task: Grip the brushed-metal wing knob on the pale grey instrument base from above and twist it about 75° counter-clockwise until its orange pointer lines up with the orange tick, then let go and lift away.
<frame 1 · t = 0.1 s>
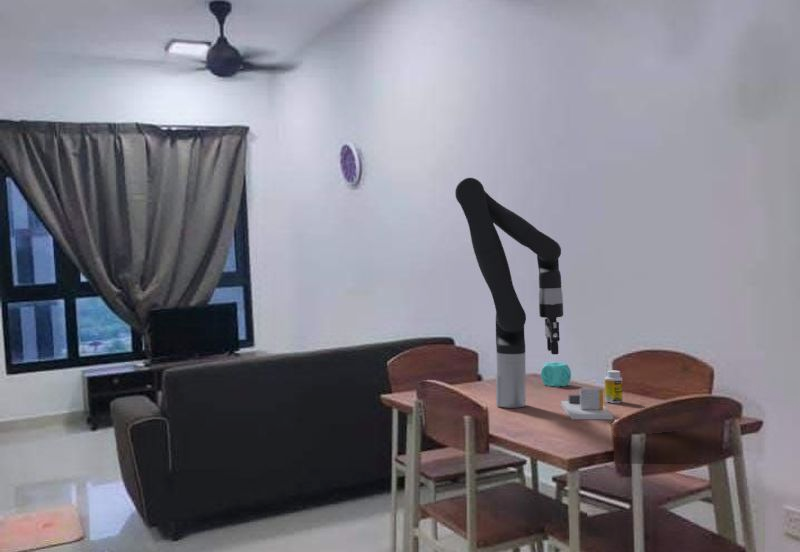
hand: (552, 352, 240), 17 cm above the table, tool pointing down, fingers open, 8 cm apart
supplement bottle: (613, 402, 245), on the table
decorative dice: (556, 385, 278), on the table
instrument base: (585, 412, 230), on the table
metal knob: (591, 398, 226), point 5 cm above the table, hinge at 0.0°
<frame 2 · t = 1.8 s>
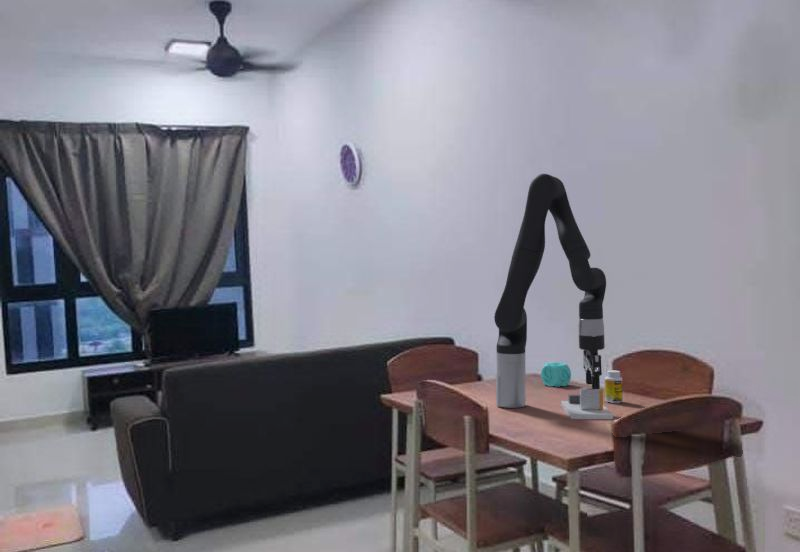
hand: (592, 386, 227), 8 cm above the table, tool pointing down, fingers open, 8 cm apart
nothing on the table moved.
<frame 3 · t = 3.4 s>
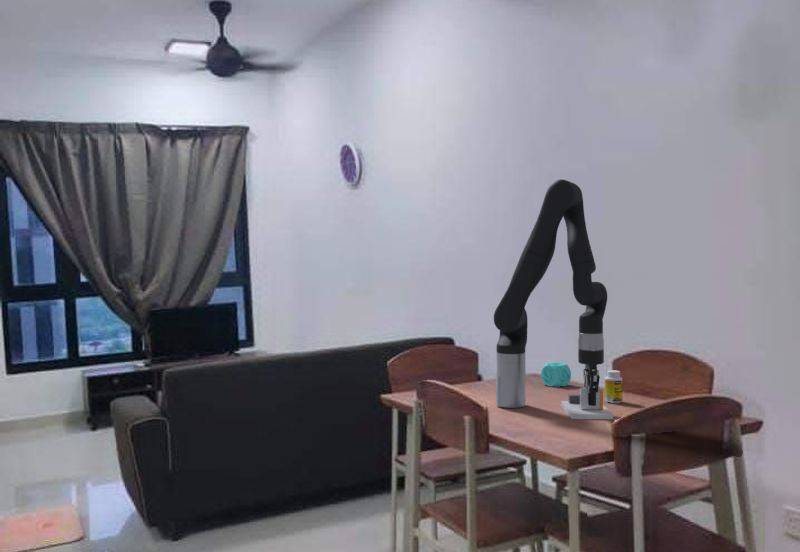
hand: (591, 404, 226), 3 cm above the table, tool pointing down, fingers closed on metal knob, 2 cm apart
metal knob: (591, 398, 226), point 5 cm above the table, hinge at 0.0°, touching gripper
everything else where it was.
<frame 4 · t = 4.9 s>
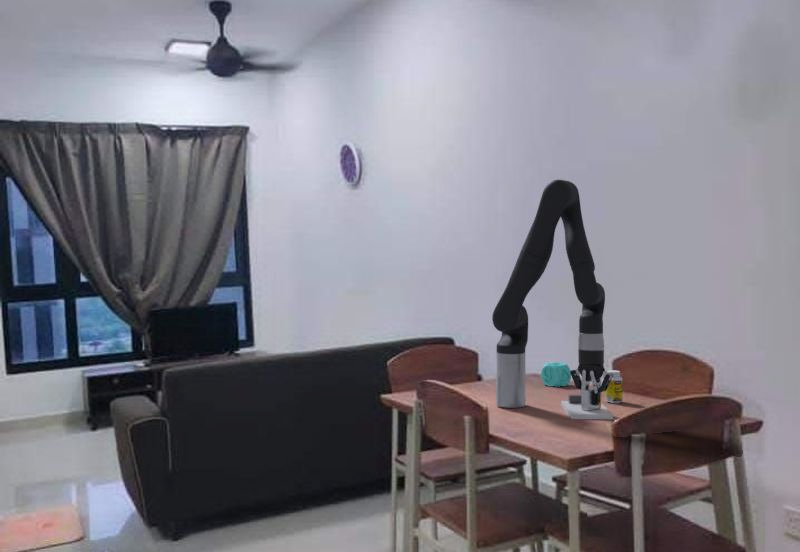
hand: (591, 404, 227), 3 cm above the table, tool pointing down, fingers closed on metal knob, 2 cm apart
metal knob: (591, 398, 227), point 5 cm above the table, hinge at 42.8°, touching gripper
everything else where it was.
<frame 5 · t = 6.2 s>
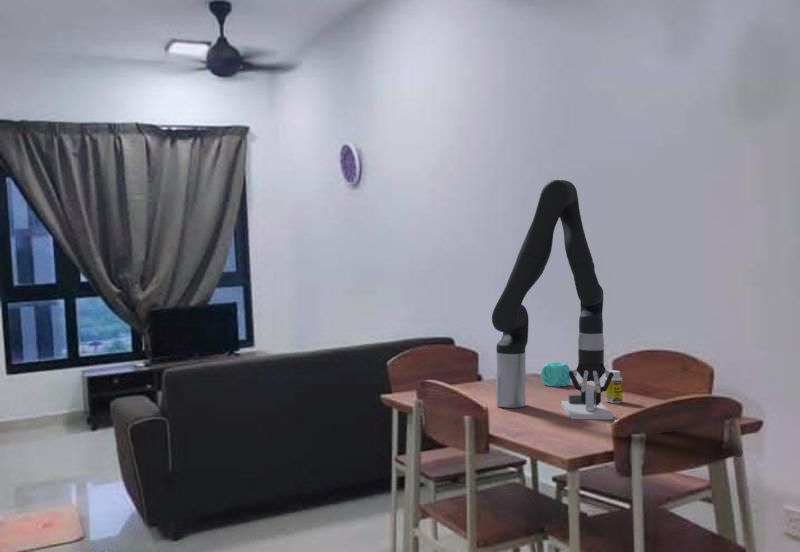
hand: (591, 404, 227), 3 cm above the table, tool pointing down, fingers open, 3 cm apart
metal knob: (591, 398, 227), point 5 cm above the table, hinge at 71.7°
everything else where it was.
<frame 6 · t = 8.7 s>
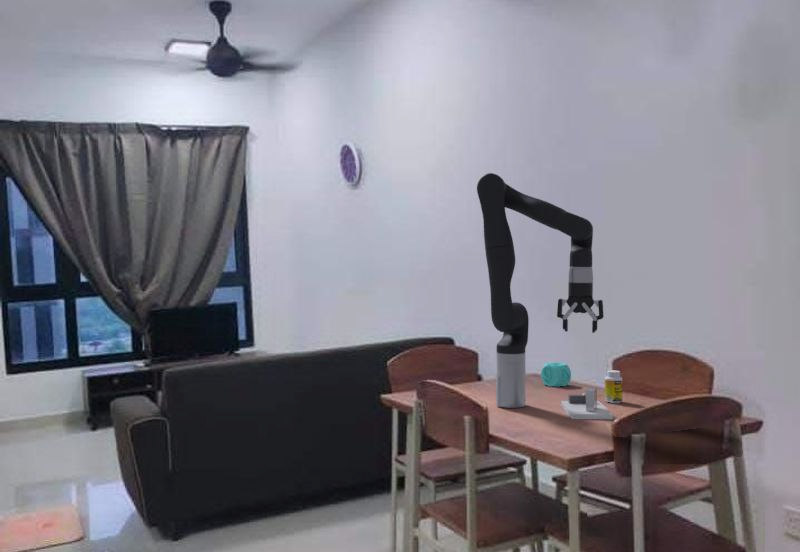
hand: (579, 331, 237), 24 cm above the table, tool pointing down, fingers open, 8 cm apart
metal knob: (591, 398, 227), point 5 cm above the table, hinge at 72.4°
everything else where it was.
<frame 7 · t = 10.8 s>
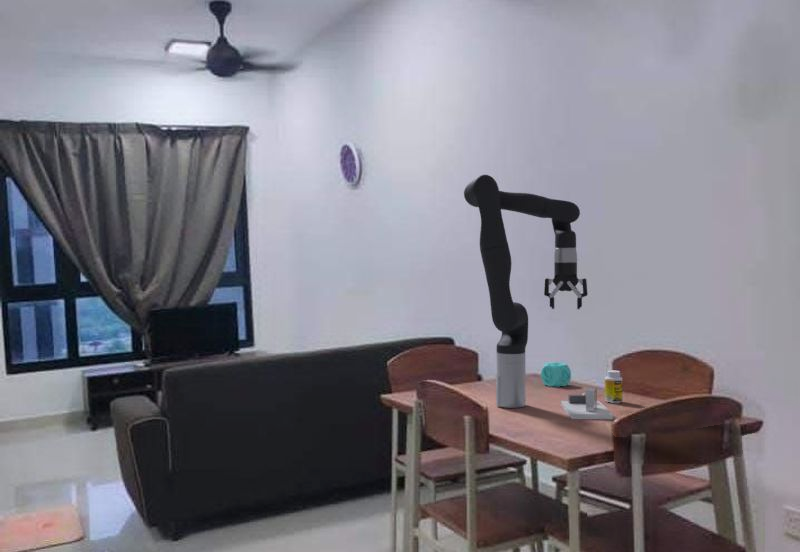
hand: (565, 308, 254), 30 cm above the table, tool pointing down, fingers open, 8 cm apart
nothing on the table moved.
at the end: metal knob at +72° (first picture: +0°); the gripper is holding nothing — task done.
